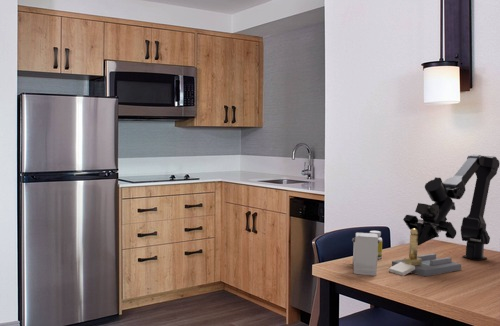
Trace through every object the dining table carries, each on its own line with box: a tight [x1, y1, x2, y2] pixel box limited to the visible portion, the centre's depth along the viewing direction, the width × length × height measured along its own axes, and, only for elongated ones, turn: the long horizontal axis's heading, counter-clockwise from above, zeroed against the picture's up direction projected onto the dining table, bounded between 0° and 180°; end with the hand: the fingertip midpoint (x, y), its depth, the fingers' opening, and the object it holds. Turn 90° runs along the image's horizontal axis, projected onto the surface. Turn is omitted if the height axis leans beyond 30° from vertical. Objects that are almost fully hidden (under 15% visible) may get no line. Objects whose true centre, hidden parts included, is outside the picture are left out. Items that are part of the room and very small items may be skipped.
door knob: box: [403, 228, 422, 266], centre depth 184 cm, size 5×3×12 cm, turn 124°
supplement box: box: [353, 232, 378, 277], centre depth 180 cm, size 7×7×13 cm
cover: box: [388, 262, 415, 277], centre depth 181 cm, size 6×6×1 cm
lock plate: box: [391, 253, 462, 277], centre depth 188 cm, size 19×14×4 cm
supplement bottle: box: [369, 230, 383, 260], centre depth 202 cm, size 5×5×10 cm
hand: (416, 244), depth 185 cm, fingers closed
